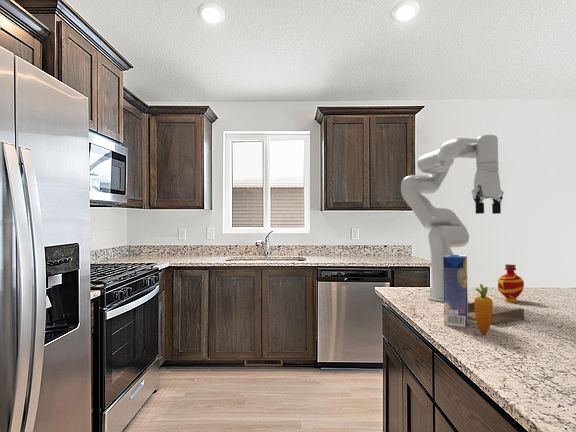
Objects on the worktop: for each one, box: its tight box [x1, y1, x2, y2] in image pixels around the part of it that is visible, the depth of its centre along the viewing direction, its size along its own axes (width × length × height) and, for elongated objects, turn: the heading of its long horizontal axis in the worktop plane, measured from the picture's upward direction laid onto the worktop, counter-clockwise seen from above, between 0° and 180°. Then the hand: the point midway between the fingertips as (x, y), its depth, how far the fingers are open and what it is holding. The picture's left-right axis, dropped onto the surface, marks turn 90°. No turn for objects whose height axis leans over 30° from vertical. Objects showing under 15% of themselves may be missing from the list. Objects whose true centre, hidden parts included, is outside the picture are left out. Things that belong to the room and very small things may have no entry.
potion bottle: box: [497, 263, 525, 303], centre depth 184 cm, size 10×10×15 cm
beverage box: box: [443, 254, 469, 328], centre depth 146 cm, size 7×11×22 cm, turn 156°
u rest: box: [468, 301, 525, 326], centre depth 153 cm, size 17×16×4 cm
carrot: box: [474, 283, 494, 337], centre depth 128 cm, size 5×5×15 cm
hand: (488, 213), depth 165 cm, fingers open, 9 cm apart
